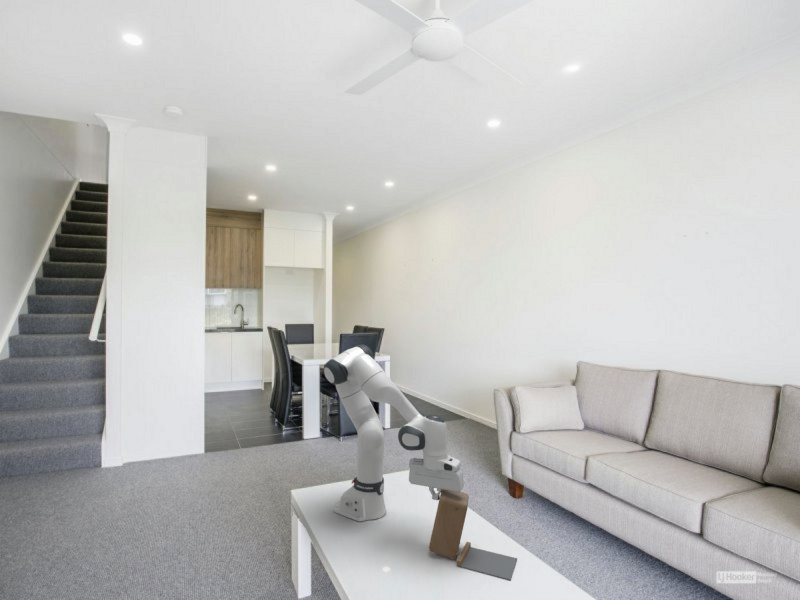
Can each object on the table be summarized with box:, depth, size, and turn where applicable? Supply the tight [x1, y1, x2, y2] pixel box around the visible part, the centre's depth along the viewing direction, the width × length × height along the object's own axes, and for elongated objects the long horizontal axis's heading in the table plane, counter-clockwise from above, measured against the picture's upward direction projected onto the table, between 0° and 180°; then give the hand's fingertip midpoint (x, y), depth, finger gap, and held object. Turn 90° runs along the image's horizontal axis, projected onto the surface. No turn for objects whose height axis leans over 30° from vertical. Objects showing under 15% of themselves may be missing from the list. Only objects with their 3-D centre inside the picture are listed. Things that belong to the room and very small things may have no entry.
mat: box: [455, 541, 518, 581], centre depth 147 cm, size 18×13×2 cm
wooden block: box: [428, 489, 470, 560], centre depth 154 cm, size 10×10×20 cm
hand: (435, 499), depth 155 cm, fingers closed
